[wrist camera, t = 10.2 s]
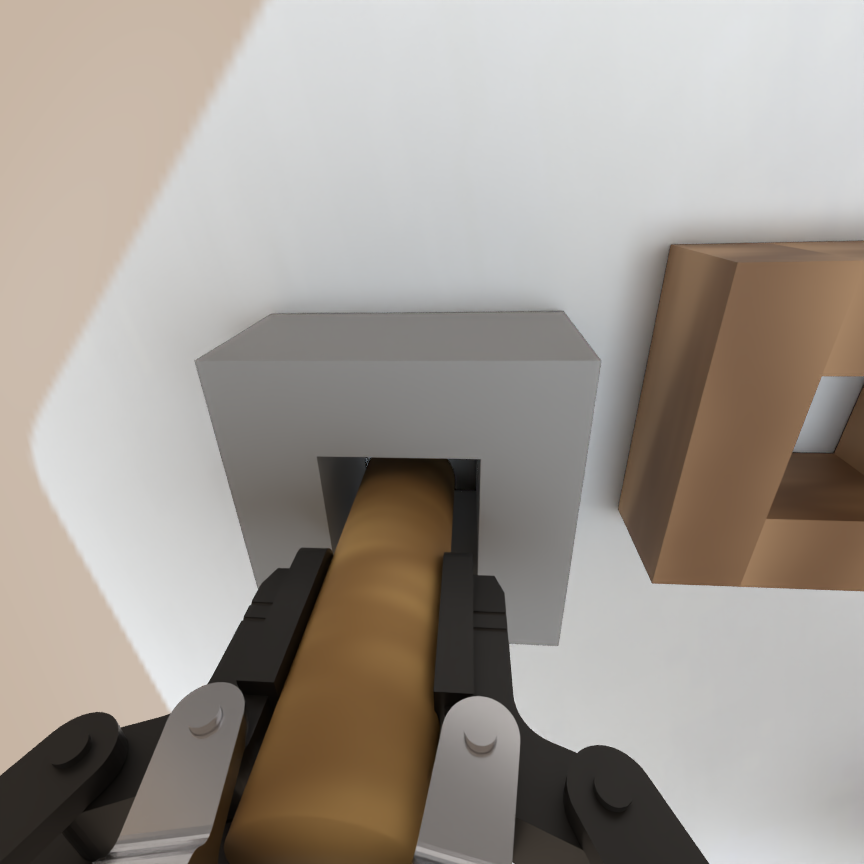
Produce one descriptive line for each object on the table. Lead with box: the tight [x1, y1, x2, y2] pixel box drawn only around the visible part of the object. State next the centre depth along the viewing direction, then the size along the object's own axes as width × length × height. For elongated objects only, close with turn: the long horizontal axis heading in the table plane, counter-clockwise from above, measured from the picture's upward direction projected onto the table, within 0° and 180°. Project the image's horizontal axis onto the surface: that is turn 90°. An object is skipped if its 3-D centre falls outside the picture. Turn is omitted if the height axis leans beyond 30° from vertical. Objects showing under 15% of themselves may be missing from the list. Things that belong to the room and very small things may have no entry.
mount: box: [618, 241, 864, 591], centre depth 14 cm, size 10×10×4 cm
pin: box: [224, 457, 455, 864], centre depth 11 cm, size 3×3×10 cm
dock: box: [195, 311, 601, 646], centre depth 16 cm, size 10×10×5 cm
